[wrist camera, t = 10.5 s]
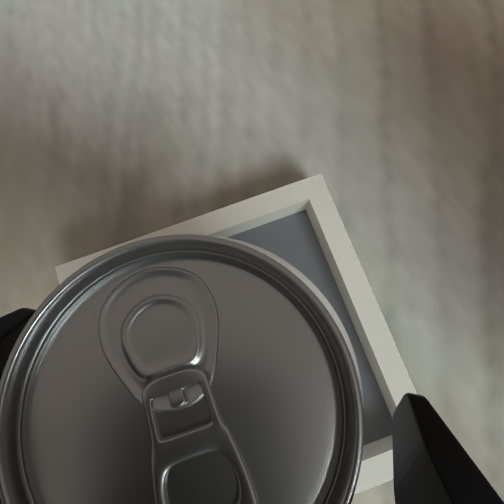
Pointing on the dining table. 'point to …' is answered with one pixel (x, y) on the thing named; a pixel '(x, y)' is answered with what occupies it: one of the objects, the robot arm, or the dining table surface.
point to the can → (182, 384)
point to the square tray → (330, 285)
